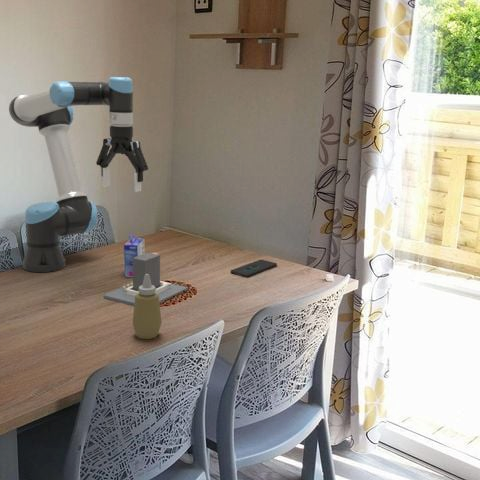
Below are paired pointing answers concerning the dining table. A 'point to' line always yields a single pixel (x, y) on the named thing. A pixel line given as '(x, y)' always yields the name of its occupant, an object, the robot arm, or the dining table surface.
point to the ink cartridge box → (132, 253)
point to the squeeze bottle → (147, 311)
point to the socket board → (128, 294)
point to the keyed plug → (146, 269)
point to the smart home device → (253, 268)
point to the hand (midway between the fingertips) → (122, 189)
